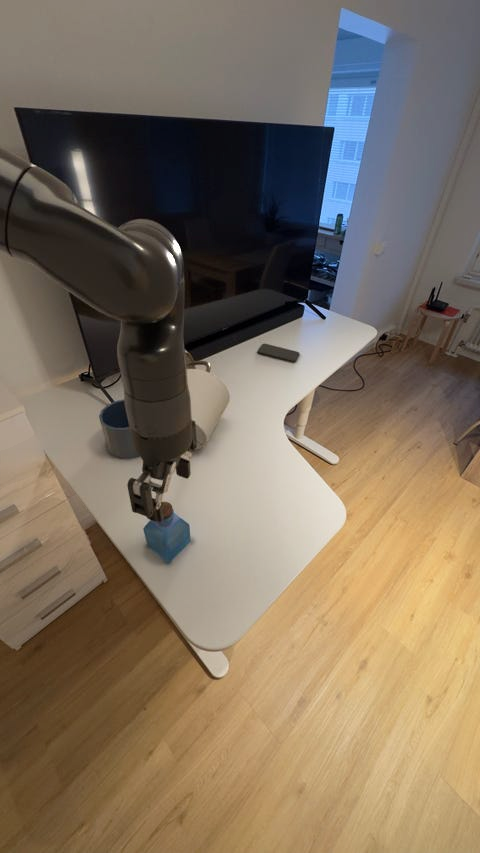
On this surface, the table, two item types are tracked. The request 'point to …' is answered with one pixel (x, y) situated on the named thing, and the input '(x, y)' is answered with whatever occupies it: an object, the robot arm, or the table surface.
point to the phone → (278, 352)
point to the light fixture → (205, 399)
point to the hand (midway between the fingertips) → (170, 495)
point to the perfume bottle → (167, 534)
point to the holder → (117, 430)
